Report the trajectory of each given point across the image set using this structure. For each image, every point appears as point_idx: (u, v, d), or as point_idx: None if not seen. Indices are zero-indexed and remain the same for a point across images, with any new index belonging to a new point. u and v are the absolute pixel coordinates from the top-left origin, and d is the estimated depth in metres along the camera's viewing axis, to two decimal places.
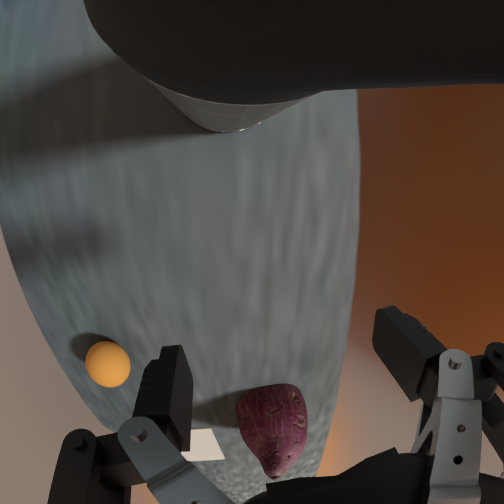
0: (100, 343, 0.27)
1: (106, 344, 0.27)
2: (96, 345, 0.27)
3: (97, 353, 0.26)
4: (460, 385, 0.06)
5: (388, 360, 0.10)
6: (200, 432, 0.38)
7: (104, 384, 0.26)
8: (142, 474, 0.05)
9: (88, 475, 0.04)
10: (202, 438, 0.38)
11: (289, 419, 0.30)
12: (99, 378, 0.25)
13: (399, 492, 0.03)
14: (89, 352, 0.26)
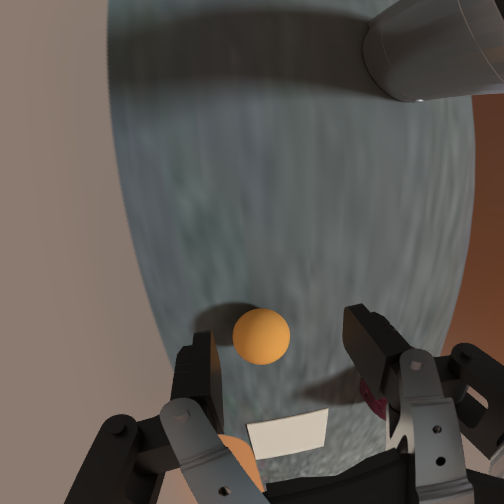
0: (257, 310, 0.26)
1: (266, 310, 0.26)
2: (253, 312, 0.26)
3: (261, 321, 0.25)
4: (427, 384, 0.06)
5: (356, 358, 0.10)
6: (315, 415, 0.36)
7: (265, 359, 0.24)
8: (177, 454, 0.05)
9: (122, 462, 0.05)
10: (314, 423, 0.37)
11: None
12: (263, 352, 0.24)
13: (385, 502, 0.03)
14: (245, 322, 0.25)
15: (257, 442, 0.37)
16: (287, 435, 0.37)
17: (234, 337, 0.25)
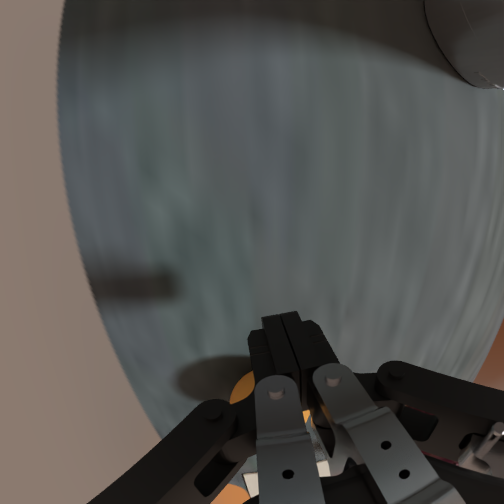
0: None
1: None
2: None
3: None
4: (353, 399, 0.06)
5: None
6: (324, 463, 0.27)
7: None
8: (258, 428, 0.06)
9: (205, 450, 0.06)
10: (322, 470, 0.28)
11: None
12: None
13: None
14: (249, 392, 0.16)
15: (254, 487, 0.28)
16: None
17: None
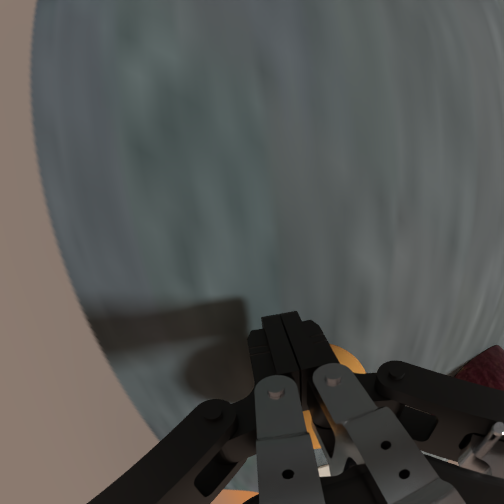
0: None
1: None
2: None
3: None
4: (353, 399, 0.06)
5: None
6: None
7: None
8: (258, 428, 0.06)
9: (205, 450, 0.06)
10: None
11: None
12: None
13: None
14: None
15: None
16: None
17: None
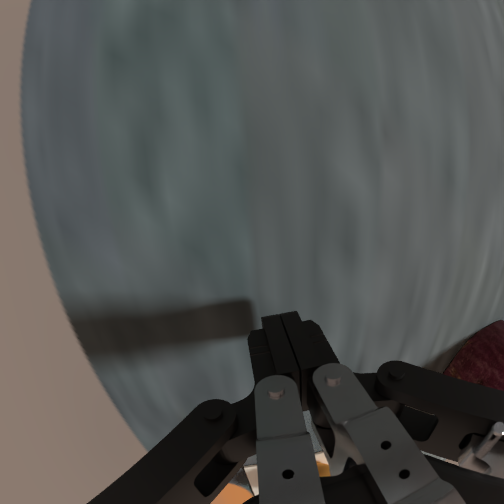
0: None
1: None
2: None
3: None
4: (353, 399, 0.06)
5: None
6: None
7: None
8: (258, 428, 0.06)
9: (205, 450, 0.06)
10: None
11: None
12: None
13: None
14: None
15: None
16: None
17: None
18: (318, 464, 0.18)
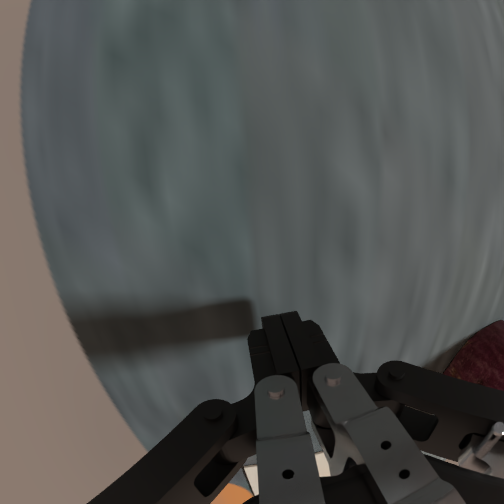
0: None
1: None
2: None
3: None
4: (353, 399, 0.06)
5: None
6: None
7: None
8: (258, 428, 0.06)
9: (205, 450, 0.06)
10: None
11: None
12: None
13: None
14: None
15: None
16: None
17: None
18: None
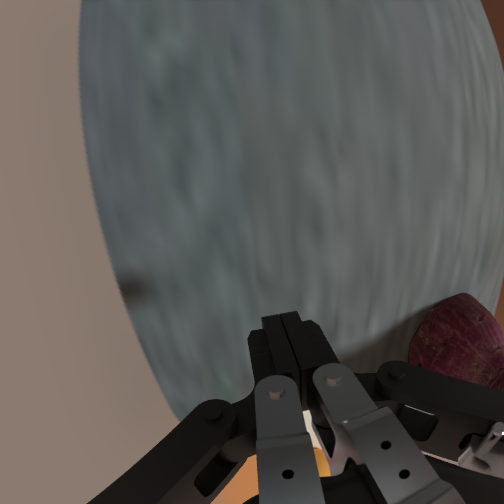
0: None
1: None
2: None
3: None
4: (353, 399, 0.06)
5: None
6: None
7: None
8: (258, 428, 0.06)
9: (205, 450, 0.06)
10: None
11: (497, 324, 0.17)
12: None
13: None
14: None
15: None
16: None
17: None
18: None
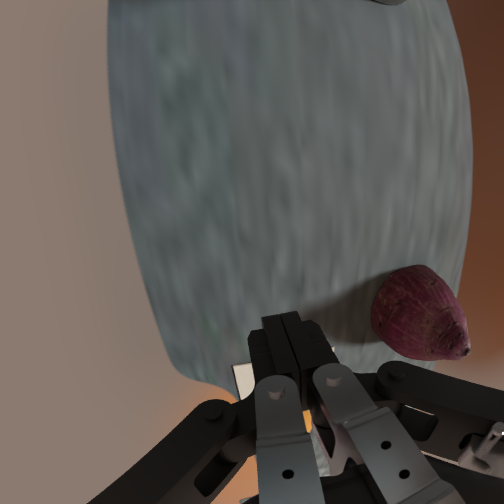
0: None
1: None
2: None
3: None
4: (353, 399, 0.06)
5: None
6: None
7: None
8: (258, 428, 0.06)
9: (205, 450, 0.06)
10: None
11: (449, 290, 0.24)
12: None
13: None
14: None
15: None
16: None
17: None
18: None
